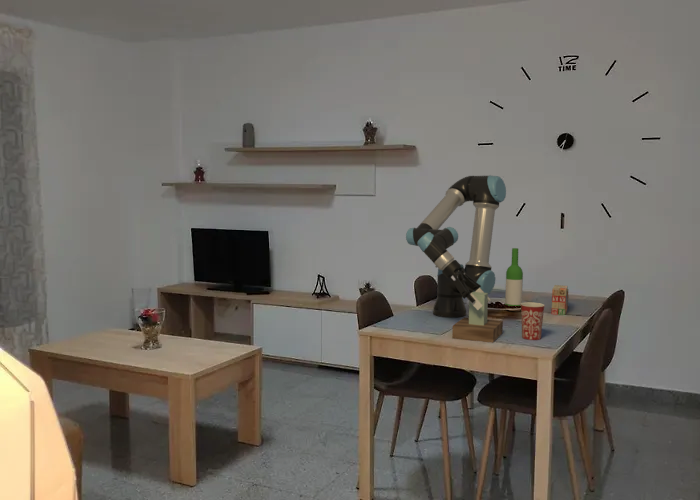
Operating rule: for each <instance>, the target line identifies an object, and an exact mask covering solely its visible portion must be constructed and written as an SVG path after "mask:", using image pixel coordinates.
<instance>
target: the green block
mask: <svg viewBox="0 0 700 500" xmlns="http://www.w3.org/2000/svg"><path fill="white" fill-rule="evenodd" d="M472 294H473V295H474V296H475V297H476V298H477V299H478V300H479V302H480V303H481V304H482V305H483V306H482V307H481V308H480V309H479V310H477V309H476V308H475V307H474V306H473V305H472V304H471V302H470V301H469V300H468V302H469V303H468V318H469V324H474V325H485V324H486V323H487V320H488V312H489V311H488V304H489V302H488V297H489V294H488V293H481V292H472Z"/></svg>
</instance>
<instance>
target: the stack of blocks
mask: <svg viewBox="0 0 700 500" xmlns="http://www.w3.org/2000/svg"><path fill="white" fill-rule="evenodd" d="M568 308H569V288H568V285H559V284H554V285H553V287H552V293H551V310H550V311H551V315H555V316H557V315H559V316H565V315H566V314H567V312H568Z"/></svg>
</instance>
